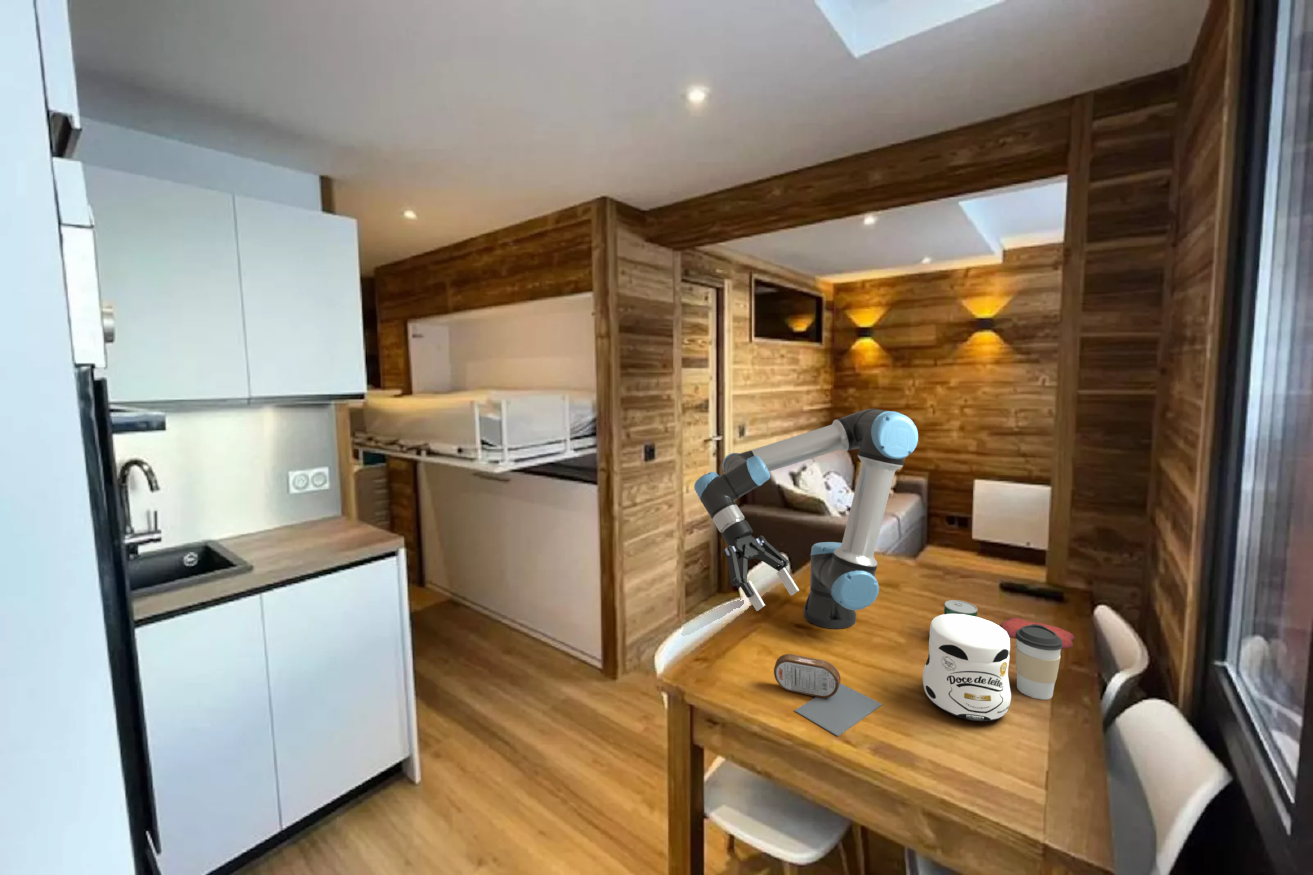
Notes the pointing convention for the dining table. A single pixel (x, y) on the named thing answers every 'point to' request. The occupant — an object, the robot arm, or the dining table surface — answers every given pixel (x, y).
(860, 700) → the slate board
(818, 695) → the tin
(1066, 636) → the red flat irregular piece
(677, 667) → the dining table surface
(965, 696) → the doce de leite jar
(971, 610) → the canned tomato
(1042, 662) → the coffee cup
